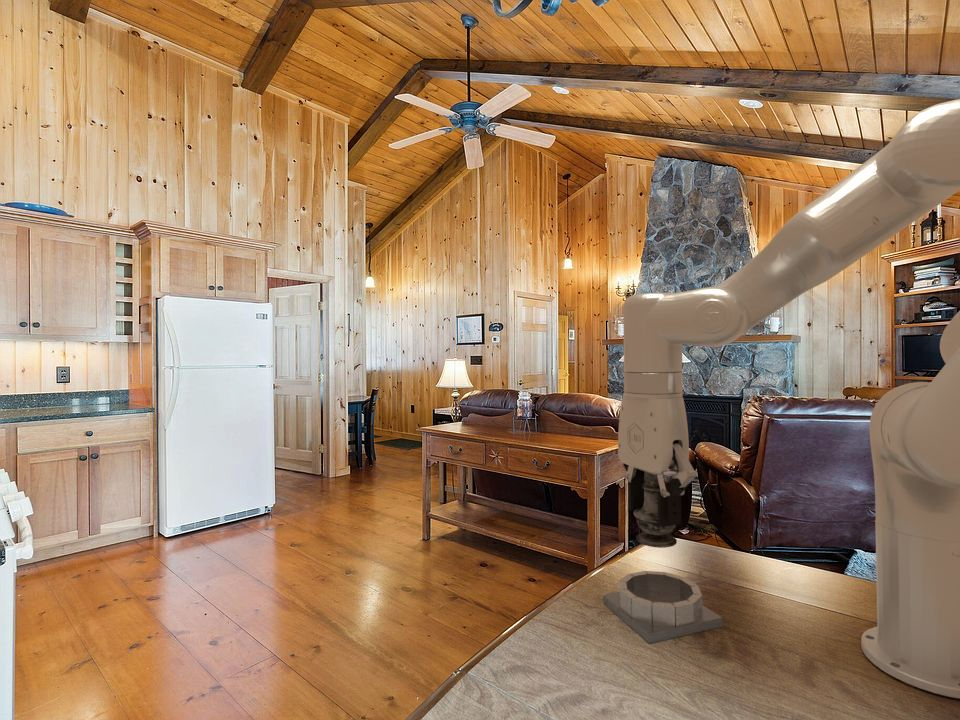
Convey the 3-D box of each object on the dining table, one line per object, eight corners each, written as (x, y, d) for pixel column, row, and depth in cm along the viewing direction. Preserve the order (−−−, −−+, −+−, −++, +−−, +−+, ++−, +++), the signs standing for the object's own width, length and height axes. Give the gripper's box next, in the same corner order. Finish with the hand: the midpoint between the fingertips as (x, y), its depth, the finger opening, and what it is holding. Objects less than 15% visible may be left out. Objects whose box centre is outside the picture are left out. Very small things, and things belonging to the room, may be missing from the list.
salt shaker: (683, 549, 68) (682, 458, 68) (636, 547, 70) (635, 457, 69) (674, 532, 74) (673, 448, 74) (631, 531, 75) (630, 448, 75)
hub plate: (668, 590, 79) (667, 565, 79) (722, 626, 68) (721, 598, 68) (603, 603, 75) (602, 577, 75) (649, 643, 65) (648, 613, 65)
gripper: (596, 382, 78) (597, 502, 79) (669, 391, 62) (671, 543, 62) (639, 380, 80) (640, 497, 81) (722, 388, 64) (723, 535, 65)
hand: (654, 515), depth 72 cm, fingers closed on salt shaker, 5 cm apart
